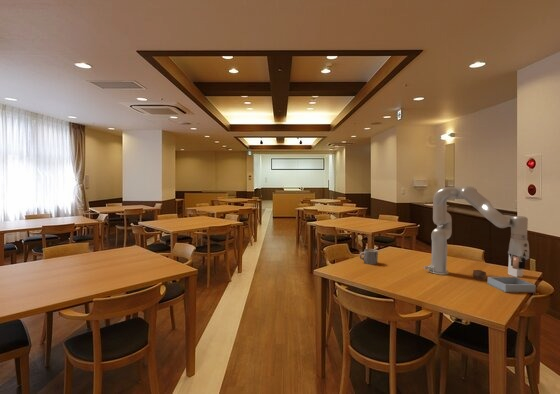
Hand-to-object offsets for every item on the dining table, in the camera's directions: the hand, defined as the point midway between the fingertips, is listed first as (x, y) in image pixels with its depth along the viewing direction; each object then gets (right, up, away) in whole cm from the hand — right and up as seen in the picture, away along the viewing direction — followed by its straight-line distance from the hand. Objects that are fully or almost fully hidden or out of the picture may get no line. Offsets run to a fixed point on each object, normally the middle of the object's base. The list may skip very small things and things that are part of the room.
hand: (517, 266), depth 179 cm
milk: (+19, -12, +26) cm, 35 cm away
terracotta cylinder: (0, -1, 0) cm, 1 cm away
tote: (-4, -13, +1) cm, 14 cm away
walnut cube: (-11, -12, +19) cm, 25 cm away
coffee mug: (-73, -10, +54) cm, 92 cm away
